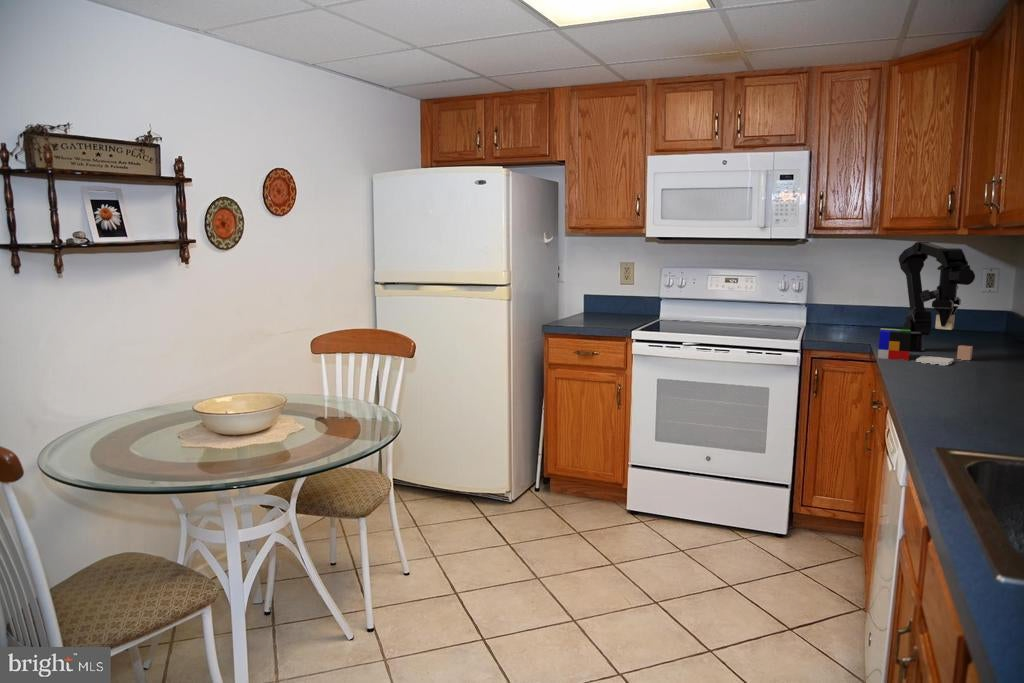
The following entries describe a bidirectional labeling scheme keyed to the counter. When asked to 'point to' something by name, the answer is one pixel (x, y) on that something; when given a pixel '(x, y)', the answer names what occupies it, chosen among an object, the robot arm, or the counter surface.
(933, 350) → the counter surface
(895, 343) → the puzzle toy
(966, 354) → the terracotta brick
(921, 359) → the building plate
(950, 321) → the maple brick
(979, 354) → the counter surface
